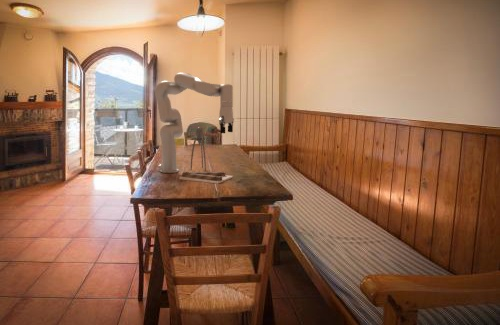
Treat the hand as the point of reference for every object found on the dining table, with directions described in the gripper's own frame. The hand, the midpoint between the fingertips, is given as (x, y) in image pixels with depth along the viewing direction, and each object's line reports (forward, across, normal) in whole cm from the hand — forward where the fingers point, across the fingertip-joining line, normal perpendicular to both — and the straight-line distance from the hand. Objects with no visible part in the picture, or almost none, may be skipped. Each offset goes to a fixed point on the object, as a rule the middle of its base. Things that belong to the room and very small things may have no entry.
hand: (226, 132), depth 230 cm
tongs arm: (+27, +5, -11) cm, 30 cm away
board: (+28, +8, -10) cm, 31 cm away
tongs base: (+27, +14, -10) cm, 32 cm away
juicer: (+28, -16, -30) cm, 44 cm away
